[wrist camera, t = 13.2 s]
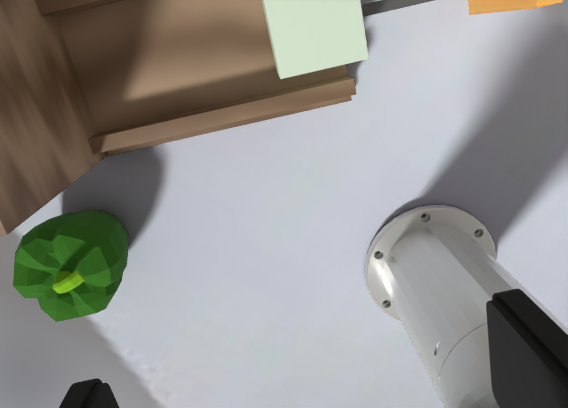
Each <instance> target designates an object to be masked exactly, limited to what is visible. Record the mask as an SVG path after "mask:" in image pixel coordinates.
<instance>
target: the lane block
mask: <svg viewBox="0 0 568 408" xmlns="http://www.w3.org/2000/svg"><path fill="white" fill-rule="evenodd" d="M429 1H433V0H381V1H377V2H373V3H369V4H364V5H361V2H360V0H262V4H263V9H264V13H265V18H266V23H267V27H268V32H269V37H270V41H271V46H272V51H273V55H274V60H275V65H276V69H277V73H278V75H279V77H280V79H283V78H288V77H292V76H297V75H301V74H305V73H310V72H314V71H318V70H323V69H327V68H331V67H336V66H340V65H344V64H349V63H353V62H357V61H362V60H366V59H369V57H368V50H367V43H366V36H365V29H364V22H363V17H364V16H369V15H373V14H377V13H382V12H386V11H390V10H394V9H399V8H403V7H407V6H412V5H416V4H420V3H425V2H429ZM562 1H563V0H468V2H469V15H473V14H482V13H492V12H502V11H512V10H522V9H532V8H539V7H543V6H548V5H552V4H556V3H561V2H562Z"/></svg>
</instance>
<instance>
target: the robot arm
mask: <svg viewBox="0 0 568 408" xmlns="http://www.w3.org/2000/svg"><path fill="white" fill-rule="evenodd" d="M423 214H425V215H424V216H422V215H423ZM377 251H379V252H378V253H375V252H377ZM364 270H365V280H366V284H367V287H368V290H369V292H370V294H371V296H372V298H373V300H374V301H375V303H376V304H377V305H378V307H379V308H380V309H382V310H383V311H384V312H385V313H386V314H388V315H389V316H391V317H393V318H394V319H397V320H400V321H402V323H403V325H404V327H405V329H406V331H407V333H408V335H409V337H410V339H411V341H412V343H413V345H414V347H415V349H416V351H417V353H418V355H419V357H420V359H421V361H422V363H423V365H424V367H425V369H426V371H427V373H428V375H429V377H430V379H431V381H432V383H433V385H434V387H435V389H436V391H437V393H438V395H439V397H440V399H441V401H442V403H443V405H444V407H445V408H568V328H567V327H565V326H564V325H563V324H562V323H561V322H560V321H559V320H558V319H557V318H556V317H555V316H554V315H553V314H552V313H551V312H550V311H549V310H548V309H547V308H546V307H545V306H543V305H542V304H541V303H540V302H539V301H538V300H537V299H536V298H535V297H534V296H533V295H532V294H531V293H530V292H529V291H528V290H527V289H525V288H524V287H523V286H522V285H521V284H520V283H519V282H518V281H517V280H516V279H515V278H514V277H513V276H512V275H511V274H510V273H509V272H508V271H506V270H505V269H504V268H503V267H502V266H501V265H500V264H499V263H498V262H497V261H496V252H495V246H494V242H493V240H492V238H491V235H490V233H489V232H488V231H487V229H486V228H485V227H484V225H483V224H482V223H480V222H479V221H478V220H477V219H476V218H475V217H473V216H472V215H470V214H469V213H467V212H466V211H463V210H461V209H459V208H456V207H451V206H446V205H428V206H422V207H417V208H414V209H412V210H409V211H406V212H404V213H402V214H401V215H399V216H397V217H395V218H394V219H393V220H391V221H390V222H389V223H388V224H386V225H385V226H384V227H383V228H382V230H381V231H380V232H379V233H378V234H377V235H376V237H375V238H374V240H373V242H372V244H371V245H370V247H369V250H368V253H367V256H366V260H365V267H364ZM59 408H119V406H118V404H117V401H116V399H115V397H114V395H113V392H112V390H111V388H110V386H109V384H107V383H102V381H101V380H100V379H92V380H87V381H82V382H77V383H74V384H72V386H71V387H70V388H69V390H68V392H67V394H66V396H65V398H64V400H63V401H62V403H61V405H60V407H59Z"/></svg>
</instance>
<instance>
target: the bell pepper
mask: <svg viewBox="0 0 568 408" xmlns="http://www.w3.org/2000/svg"><path fill="white" fill-rule="evenodd" d="M127 257H128V234H127V232H126V231H125V229H124V227H123V225H122V224H121V222H120V220H119V219H117V218H115V217H114V216H112V215H111V214H109V213H108V212H106V211H96V210H85V211H81V212H79V213H76V214H72V213H69V214H64V215H60V216H57V217H54V218H51V219H49V220H47V221H45V222H43V223H41V224H39V225H38V226H36V227H34V228H33V229H32V230H30V231H29V232H28V233H27V234H25V235H24V236H23V237H22V239H21V242H20V244H19V246H18V248H17V250H16V253H15V263H14V281H13V286H14V287H15V288H16V289H17V290H18V291H19V292H20V294H21V295H22V296H23V297H24V298H38V301H39V304H40V307H41V309H42V310H43V311H44V312H45V313H47V314H48V315H49V316H50V317H51V318H53V319H54V320H55V321H62V320H67V319H72V318H78V317H82V316H86V315H90V314H94V313H97V312H100V311H102V310H104V309H106V307H107V305H108V304H109V302H110V301H111V299H112V297H113V296H114V294H115V292H116V291H117V289H118V287H119V285H120V283H121V281H122V275H123V271H124V269H125V267H126V266H127Z"/></svg>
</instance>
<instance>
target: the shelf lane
mask: <svg viewBox="0 0 568 408" xmlns="http://www.w3.org/2000/svg"><path fill="white" fill-rule="evenodd" d="M355 94H356V89H355V83H354V78H352V77H350V76H348V74H347V68H346V64H344V65H340V66H336V67H331V68H327V69H323V70H318V71H314V72H310V73H305V74H301V75H297V76H292V77H288V78H283V79H280V77H279V75H278V73H277V69H276V65H275V60H274V55H273V51H272V46H271V41H270V37H269V32H268V27H267V23H266V18H265V13H264V9H263V4H262V0H0V236H4V235H7V234H8V233H10V232H11V231H13V230H14V229H15V228H16V227H18V226H19V225H20V224H21V223H23V222H24V221H25V220H26V219H28V218H29V217H30V216H32V215H33V214H34V213H35V212H37V211H38V210H39V209H40V208H42V207H43V206H44V205H46V204H47V203H48V202H49V201H51V200H52V199H53V198H54V197H56V196H57V195H58V194H59V193H61V192H62V191H63V190H65V189H66V188H67V187H68V186H70V185H71V184H72V183H73V182H75V181H76V180H77V179H79V178H80V177H81V176H82V175H84V174H85V173H86V172H87V171H89V170H90V169H91V168H92V167H94V166H95V165H96V164H98V163H99V162H100V161H101V160H103V159H104V158H105V157H106V156H109V155H114V154H118V153H123V152H127V151H131V150H136V149H140V148H145V147H149V146H153V145H158V144H162V143H167V142H171V141H175V140H180V139H184V138H189V137H193V136H197V135H202V134H206V133H210V132H215V131H219V130H224V129H228V128H232V127H237V126H241V125H246V124H250V123H254V122H259V121H263V120H268V119H272V118H276V117H281V116H285V115H290V114H294V113H298V112H303V111H307V110H312V109H316V108H320V107H325V106H329V105H334V104H338V103H342V102H347V101H351V100H352V99H351V95H355Z"/></svg>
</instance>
